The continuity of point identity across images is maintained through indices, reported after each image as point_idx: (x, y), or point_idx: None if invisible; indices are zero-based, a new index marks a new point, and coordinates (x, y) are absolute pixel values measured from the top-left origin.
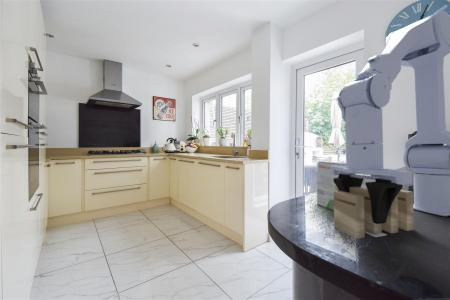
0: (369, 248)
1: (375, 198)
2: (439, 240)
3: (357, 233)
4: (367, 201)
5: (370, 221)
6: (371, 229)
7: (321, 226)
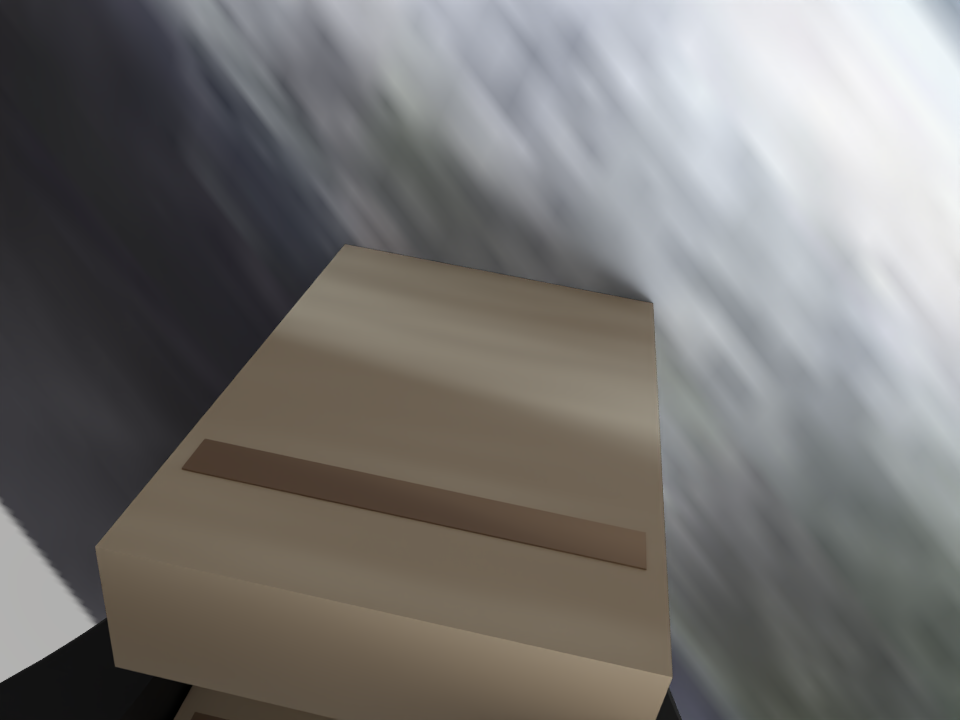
0: (146, 132)
1: (33, 690)
2: None
3: (325, 269)
4: (287, 712)
5: None
6: None
7: (778, 218)
